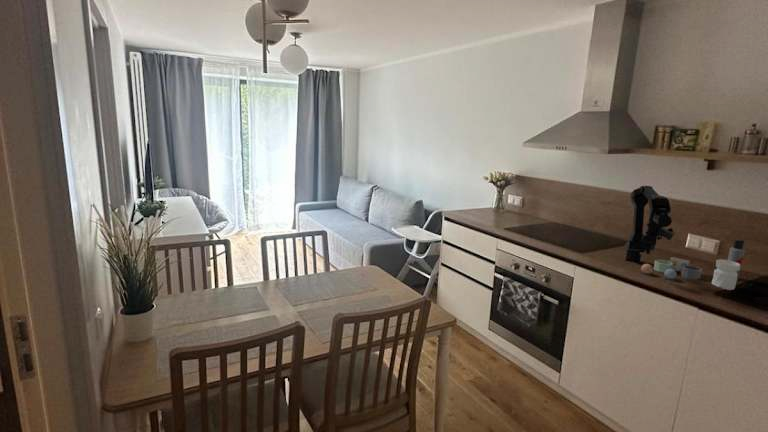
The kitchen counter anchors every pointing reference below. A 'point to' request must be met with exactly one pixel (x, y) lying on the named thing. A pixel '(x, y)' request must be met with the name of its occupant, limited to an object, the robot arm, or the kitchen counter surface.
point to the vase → (725, 274)
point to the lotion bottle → (737, 253)
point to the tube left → (662, 265)
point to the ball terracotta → (646, 268)
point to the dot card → (678, 263)
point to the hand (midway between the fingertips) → (649, 252)
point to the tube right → (691, 272)
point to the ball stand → (664, 277)
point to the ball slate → (670, 273)
